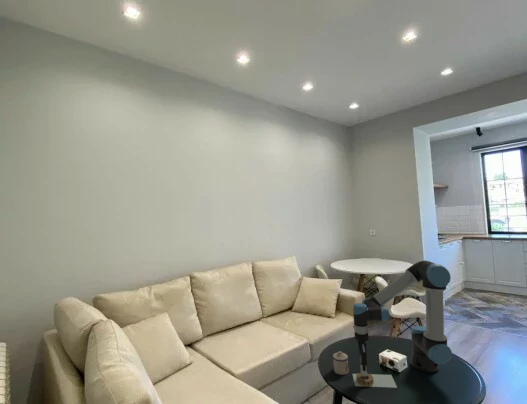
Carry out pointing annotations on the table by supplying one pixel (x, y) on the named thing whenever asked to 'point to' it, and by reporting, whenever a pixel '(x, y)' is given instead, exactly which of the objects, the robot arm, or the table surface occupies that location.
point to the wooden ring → (365, 382)
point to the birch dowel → (361, 372)
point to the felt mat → (379, 381)
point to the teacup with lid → (340, 363)
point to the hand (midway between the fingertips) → (363, 373)
